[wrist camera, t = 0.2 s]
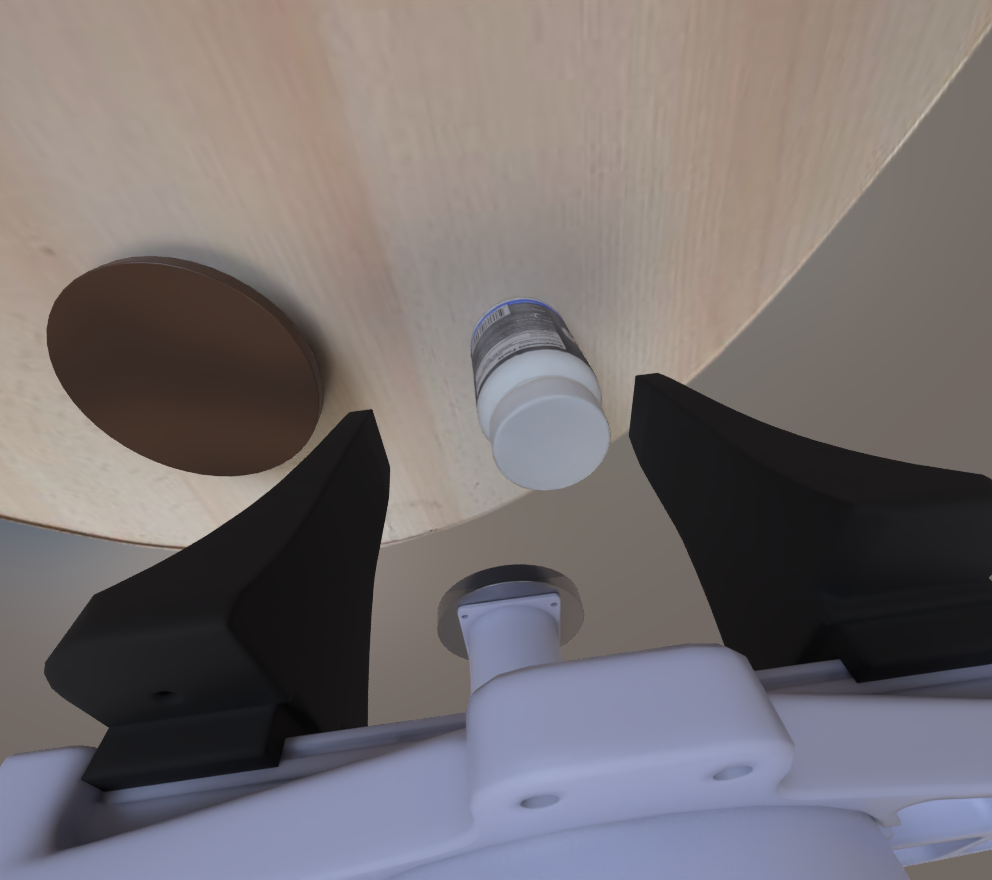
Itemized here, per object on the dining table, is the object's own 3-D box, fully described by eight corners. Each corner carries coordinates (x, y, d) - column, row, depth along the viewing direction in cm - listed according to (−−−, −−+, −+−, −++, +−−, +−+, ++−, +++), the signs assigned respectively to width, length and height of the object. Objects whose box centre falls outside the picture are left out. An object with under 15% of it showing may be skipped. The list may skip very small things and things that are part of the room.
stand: (355, 432, 24) (347, 462, 22) (166, 456, 23) (140, 489, 21) (285, 230, 17) (265, 245, 16) (30, 259, 17) (-25, 279, 15)
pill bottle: (569, 376, 23) (622, 487, 16) (479, 393, 23) (494, 510, 16) (563, 284, 20) (624, 373, 13) (460, 304, 20) (469, 402, 13)
